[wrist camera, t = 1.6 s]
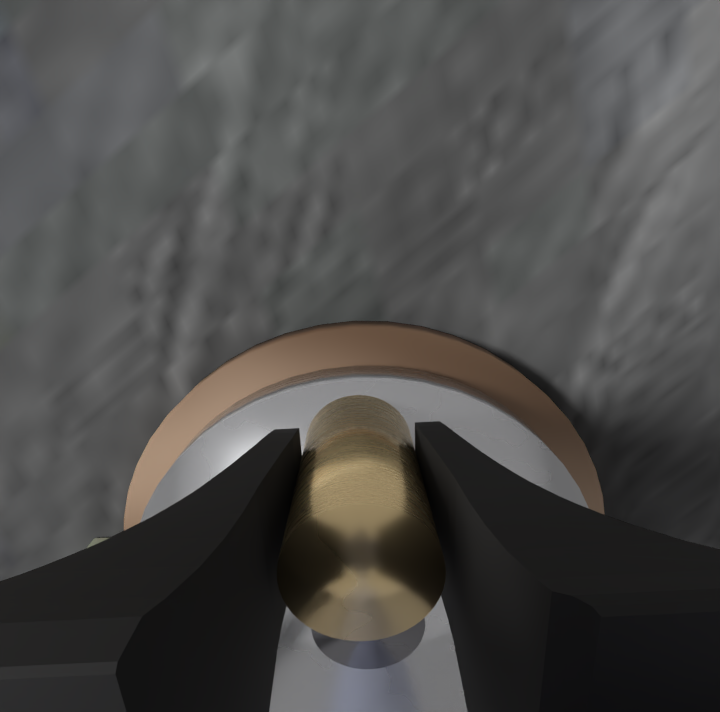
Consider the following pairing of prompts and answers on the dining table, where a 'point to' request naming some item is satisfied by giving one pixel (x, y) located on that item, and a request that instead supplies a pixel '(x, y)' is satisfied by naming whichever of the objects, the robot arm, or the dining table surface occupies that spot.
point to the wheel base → (359, 348)
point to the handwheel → (363, 529)
